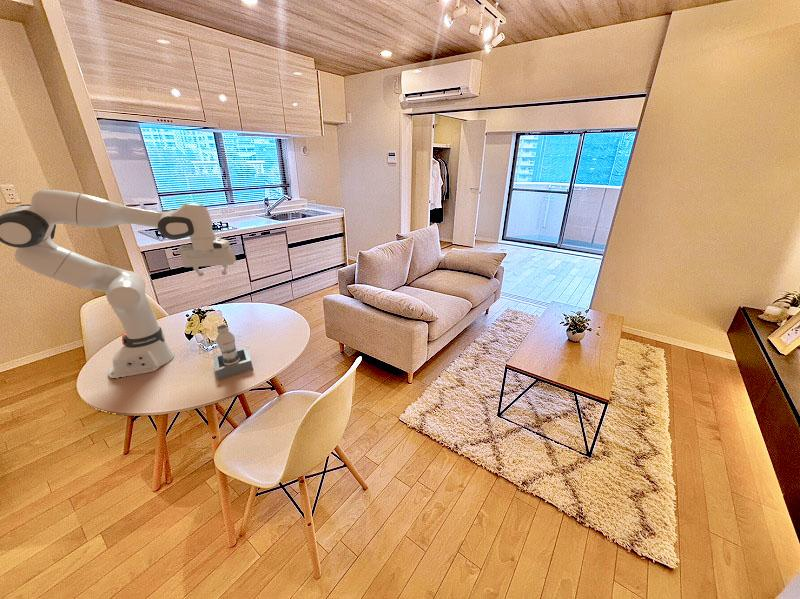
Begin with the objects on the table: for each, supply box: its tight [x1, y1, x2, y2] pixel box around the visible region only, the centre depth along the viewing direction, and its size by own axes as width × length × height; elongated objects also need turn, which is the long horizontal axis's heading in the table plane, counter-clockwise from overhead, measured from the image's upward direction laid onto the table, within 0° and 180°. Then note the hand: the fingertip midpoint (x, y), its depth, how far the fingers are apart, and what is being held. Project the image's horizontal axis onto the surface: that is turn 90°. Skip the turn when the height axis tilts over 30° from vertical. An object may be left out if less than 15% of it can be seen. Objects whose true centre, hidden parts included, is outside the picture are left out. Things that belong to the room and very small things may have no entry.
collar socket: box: [212, 346, 254, 381], centre depth 133 cm, size 13×12×4 cm
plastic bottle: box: [215, 324, 242, 366], centre depth 128 cm, size 6×7×20 cm
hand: (213, 275), depth 137 cm, fingers open, 8 cm apart
